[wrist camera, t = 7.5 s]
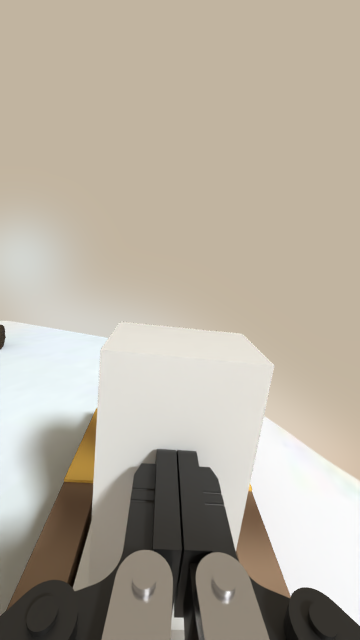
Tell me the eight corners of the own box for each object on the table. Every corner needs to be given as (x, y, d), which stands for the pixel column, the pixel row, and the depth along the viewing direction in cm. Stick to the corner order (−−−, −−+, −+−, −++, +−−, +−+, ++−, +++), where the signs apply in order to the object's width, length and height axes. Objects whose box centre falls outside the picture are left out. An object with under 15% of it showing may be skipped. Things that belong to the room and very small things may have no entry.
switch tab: (240, 660, 11) (308, 379, 8) (60, 660, 11) (68, 359, 8) (215, 523, 17) (249, 329, 14) (97, 518, 17) (109, 315, 14)
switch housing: (455, 1328, 5) (551, 1284, 4) (-291, 1486, 4) (-392, 1480, 3) (215, 442, 28) (221, 406, 27) (99, 434, 27) (101, 397, 26)
